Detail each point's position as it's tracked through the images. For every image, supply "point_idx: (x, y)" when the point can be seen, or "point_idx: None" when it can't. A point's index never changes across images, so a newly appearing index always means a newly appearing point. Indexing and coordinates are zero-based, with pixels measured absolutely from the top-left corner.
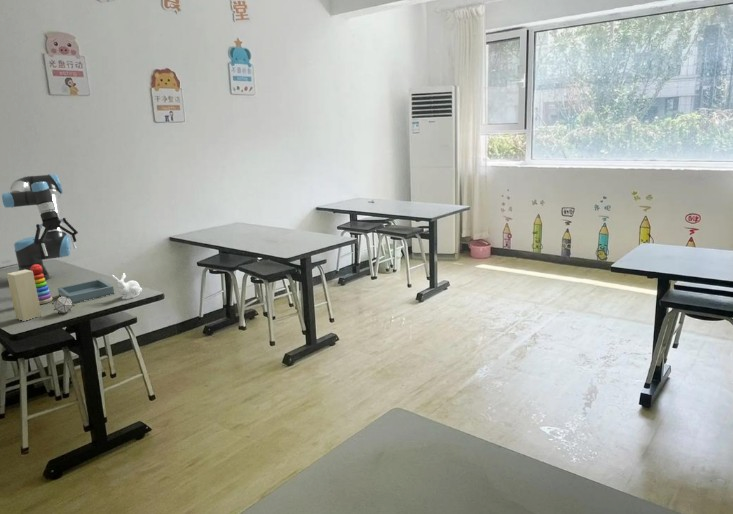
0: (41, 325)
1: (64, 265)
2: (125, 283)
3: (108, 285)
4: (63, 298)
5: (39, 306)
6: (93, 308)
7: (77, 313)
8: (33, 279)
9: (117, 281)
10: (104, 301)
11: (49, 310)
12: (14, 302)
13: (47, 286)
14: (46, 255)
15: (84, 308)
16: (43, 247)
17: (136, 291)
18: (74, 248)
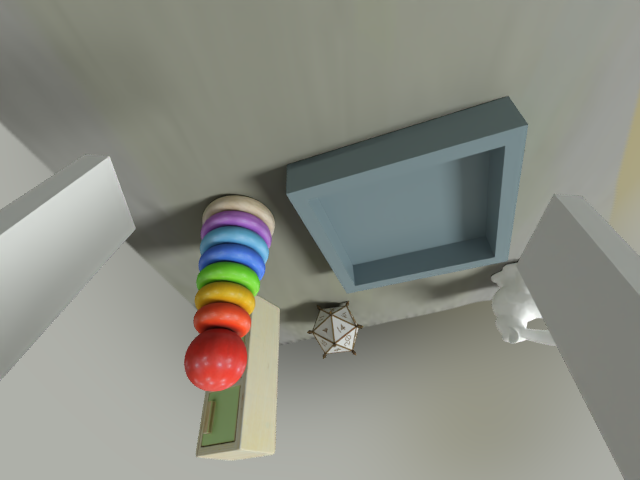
0: (294, 337)
1: None
2: (528, 320)
3: (499, 247)
4: (341, 351)
5: (278, 335)
6: (403, 304)
7: (364, 315)
8: (274, 422)
9: (505, 340)
10: (441, 277)
11: (289, 285)
12: None
13: (263, 274)
14: (131, 228)
15: (382, 299)
16: (35, 329)
17: None
18: (526, 256)
